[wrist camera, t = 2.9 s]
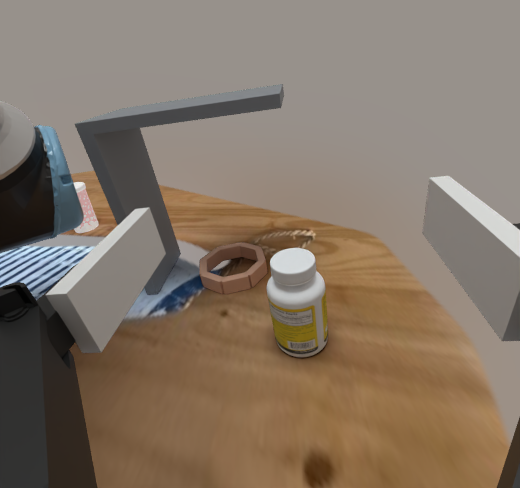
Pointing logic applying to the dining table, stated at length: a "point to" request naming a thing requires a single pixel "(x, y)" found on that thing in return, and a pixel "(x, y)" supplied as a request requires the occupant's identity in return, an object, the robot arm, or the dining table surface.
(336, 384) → the dining table surface
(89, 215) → the beverage cup
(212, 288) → the socket
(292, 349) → the supplement bottle
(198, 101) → the grey l-shaped rod
